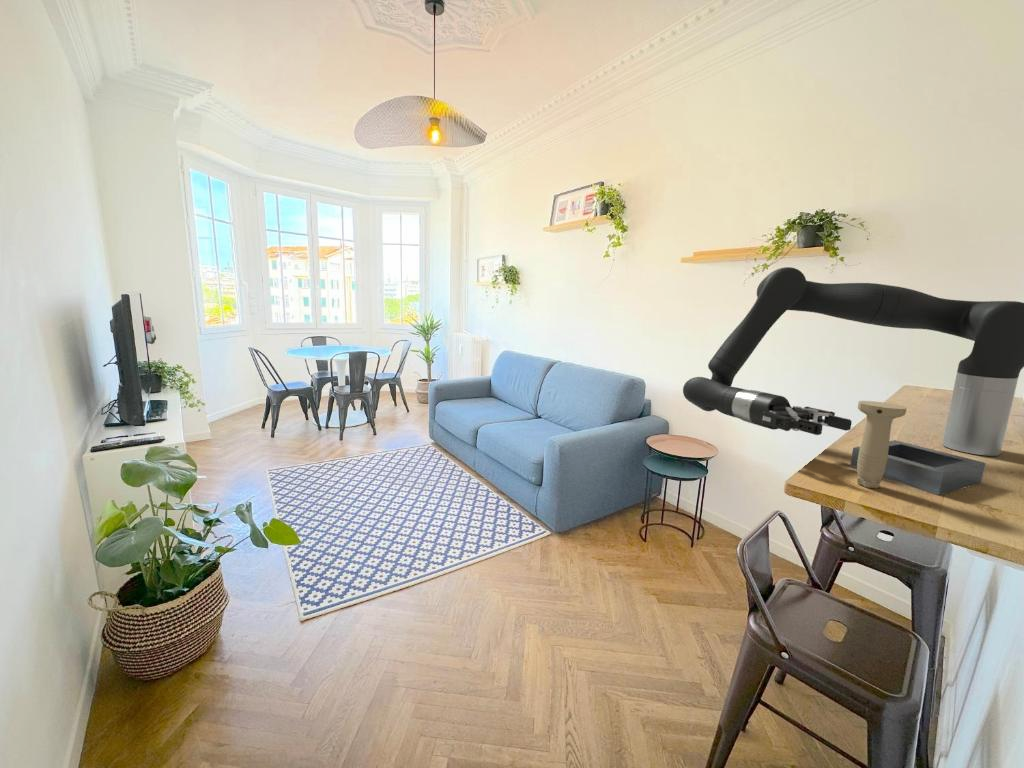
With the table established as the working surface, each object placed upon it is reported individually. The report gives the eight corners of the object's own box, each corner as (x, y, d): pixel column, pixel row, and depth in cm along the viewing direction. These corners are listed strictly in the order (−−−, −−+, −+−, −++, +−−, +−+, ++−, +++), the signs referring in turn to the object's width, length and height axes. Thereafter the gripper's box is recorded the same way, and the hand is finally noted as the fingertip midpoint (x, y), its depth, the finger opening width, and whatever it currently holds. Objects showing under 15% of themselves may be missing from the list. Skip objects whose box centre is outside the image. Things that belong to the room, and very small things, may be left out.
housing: (891, 458, 92) (894, 440, 91) (980, 483, 79) (985, 462, 79) (850, 466, 87) (853, 447, 86) (938, 495, 74) (943, 473, 73)
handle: (889, 495, 74) (905, 410, 71) (843, 483, 79) (856, 403, 76) (892, 487, 77) (907, 405, 75) (847, 476, 82) (860, 399, 79)
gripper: (738, 394, 94) (813, 411, 79) (783, 390, 99) (862, 405, 84) (734, 427, 95) (808, 450, 81) (779, 421, 101) (856, 442, 86)
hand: (835, 427), depth 82 cm, fingers open, 8 cm apart
